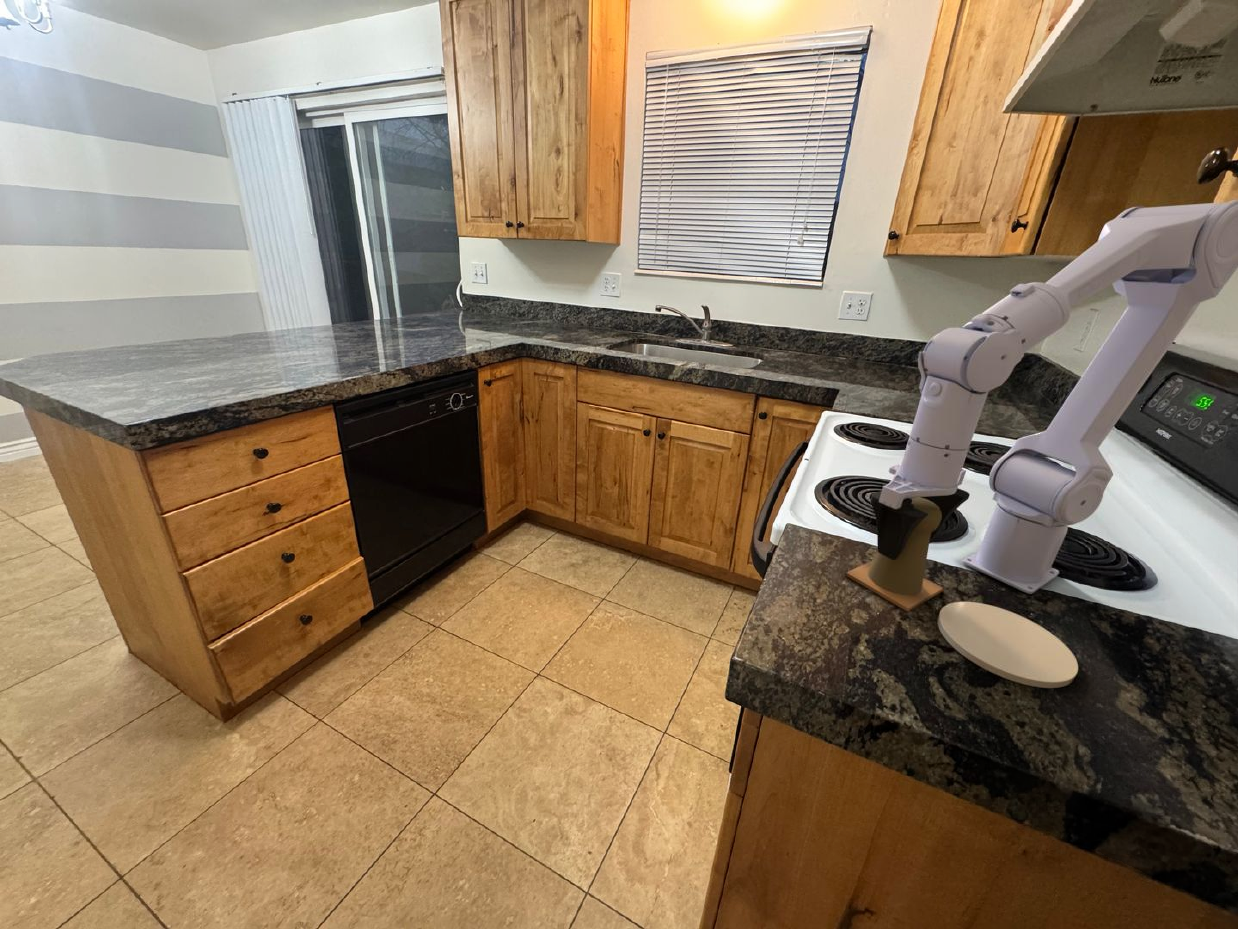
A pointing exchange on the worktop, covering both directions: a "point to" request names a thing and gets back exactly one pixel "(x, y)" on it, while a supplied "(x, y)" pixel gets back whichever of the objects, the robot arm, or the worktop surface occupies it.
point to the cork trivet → (900, 600)
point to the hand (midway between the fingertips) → (904, 547)
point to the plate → (1007, 644)
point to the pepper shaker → (908, 555)
